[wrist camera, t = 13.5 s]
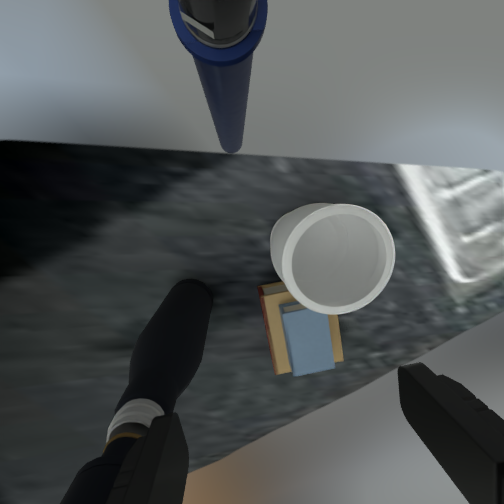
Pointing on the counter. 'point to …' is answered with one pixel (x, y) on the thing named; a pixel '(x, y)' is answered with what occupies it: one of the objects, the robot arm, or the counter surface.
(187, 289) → the wine bottle
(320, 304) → the jar
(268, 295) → the big book
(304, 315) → the pocket book
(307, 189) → the counter surface
